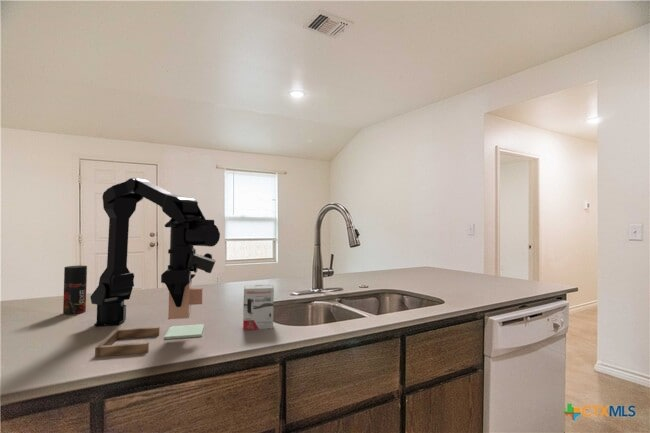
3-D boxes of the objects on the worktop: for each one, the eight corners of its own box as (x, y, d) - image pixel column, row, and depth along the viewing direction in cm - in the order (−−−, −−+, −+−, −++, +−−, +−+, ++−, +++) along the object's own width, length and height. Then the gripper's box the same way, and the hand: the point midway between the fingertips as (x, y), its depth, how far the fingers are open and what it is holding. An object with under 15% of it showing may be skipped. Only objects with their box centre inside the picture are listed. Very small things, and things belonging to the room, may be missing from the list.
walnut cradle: (94, 356, 74) (95, 347, 74) (114, 337, 86) (115, 329, 86) (147, 352, 76) (147, 343, 76) (159, 334, 89) (159, 326, 89)
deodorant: (71, 310, 112) (72, 265, 112) (89, 310, 112) (91, 265, 112) (58, 315, 106) (59, 267, 106) (78, 314, 106) (79, 267, 107)
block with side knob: (168, 319, 84) (169, 283, 85) (171, 314, 89) (172, 280, 89) (200, 317, 86) (201, 282, 87) (202, 312, 91) (203, 279, 91)
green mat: (164, 339, 85) (164, 336, 85) (170, 328, 94) (170, 326, 94) (201, 336, 87) (201, 334, 88) (204, 326, 96) (204, 324, 96)
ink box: (242, 330, 93) (243, 287, 93) (243, 325, 98) (243, 284, 98) (273, 328, 95) (274, 287, 95) (272, 323, 100) (273, 283, 100)
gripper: (211, 247, 81) (209, 312, 80) (216, 242, 99) (214, 295, 98) (161, 247, 78) (159, 314, 78) (175, 242, 96) (174, 297, 96)
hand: (180, 304), depth 87 cm, fingers closed on block with side knob, 5 cm apart
